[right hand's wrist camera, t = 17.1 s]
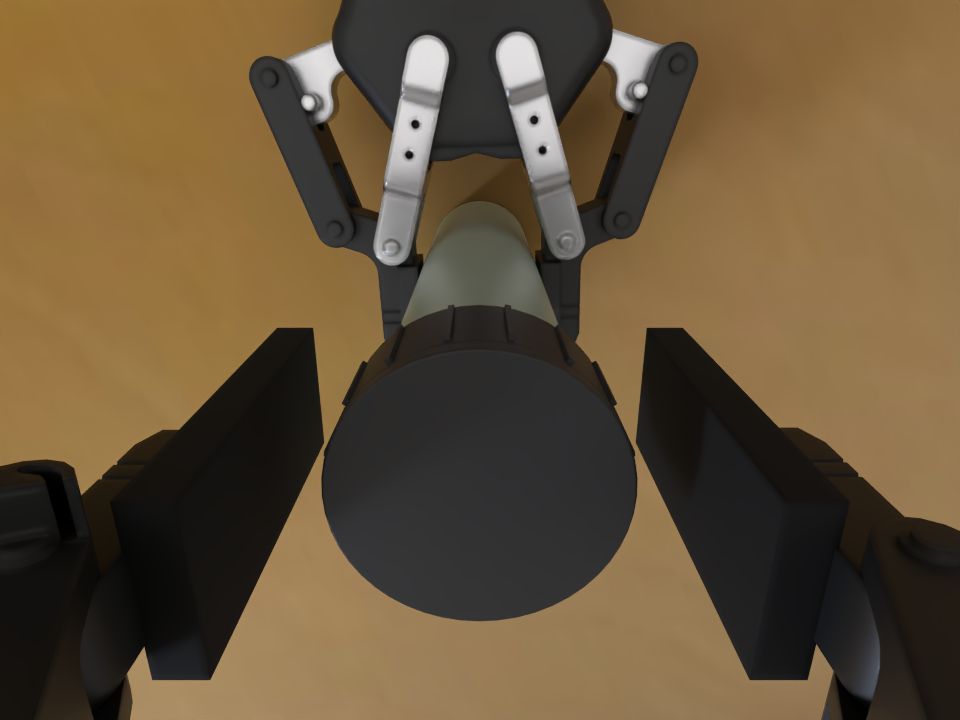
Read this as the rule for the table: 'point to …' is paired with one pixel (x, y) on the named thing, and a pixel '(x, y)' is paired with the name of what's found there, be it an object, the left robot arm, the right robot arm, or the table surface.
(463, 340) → the lid
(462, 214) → the bottle
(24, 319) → the table surface
